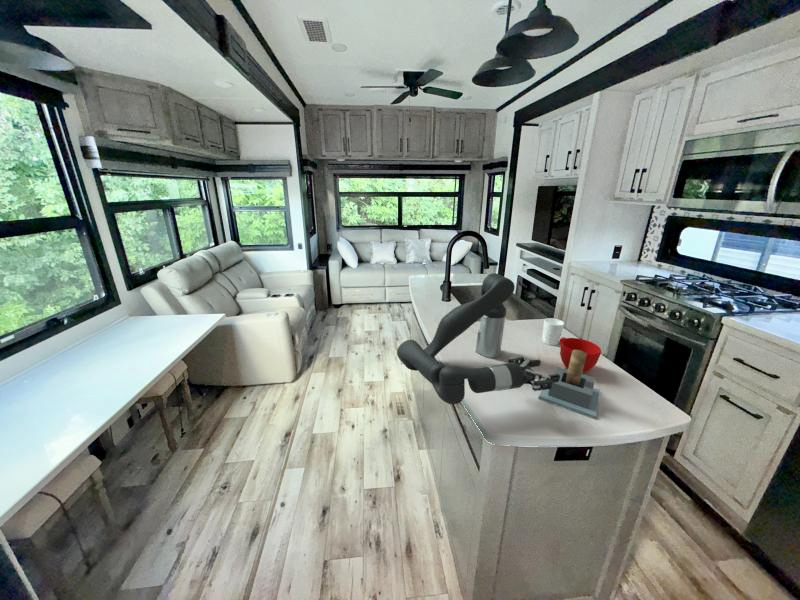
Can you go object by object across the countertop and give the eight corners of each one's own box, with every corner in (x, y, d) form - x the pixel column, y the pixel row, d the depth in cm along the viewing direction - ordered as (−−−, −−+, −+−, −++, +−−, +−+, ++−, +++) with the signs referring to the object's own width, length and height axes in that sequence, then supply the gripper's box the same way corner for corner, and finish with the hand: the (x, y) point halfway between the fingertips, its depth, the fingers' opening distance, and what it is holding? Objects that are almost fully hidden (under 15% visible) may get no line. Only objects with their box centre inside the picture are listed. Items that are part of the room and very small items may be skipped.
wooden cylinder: (562, 393, 101) (571, 353, 96) (564, 387, 104) (573, 348, 99) (575, 398, 99) (586, 357, 94) (577, 392, 102) (587, 352, 97)
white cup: (540, 344, 136) (544, 323, 133) (540, 336, 143) (544, 317, 140) (560, 347, 134) (564, 326, 130) (558, 339, 141) (563, 319, 137)
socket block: (538, 398, 100) (541, 383, 98) (548, 376, 113) (551, 361, 111) (595, 419, 92) (600, 402, 90) (599, 392, 104) (603, 377, 102)
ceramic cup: (571, 354, 128) (576, 332, 125) (603, 377, 113) (610, 353, 109) (543, 356, 126) (547, 334, 123) (571, 380, 111) (577, 355, 107)
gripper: (489, 374, 99) (532, 368, 103) (515, 402, 86) (563, 393, 90) (491, 353, 97) (535, 348, 101) (519, 379, 84) (568, 371, 88)
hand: (548, 369), depth 96 cm, fingers open, 8 cm apart
